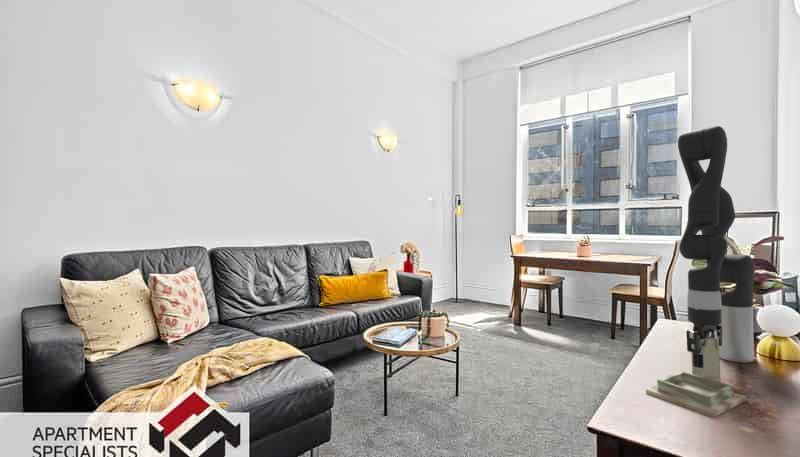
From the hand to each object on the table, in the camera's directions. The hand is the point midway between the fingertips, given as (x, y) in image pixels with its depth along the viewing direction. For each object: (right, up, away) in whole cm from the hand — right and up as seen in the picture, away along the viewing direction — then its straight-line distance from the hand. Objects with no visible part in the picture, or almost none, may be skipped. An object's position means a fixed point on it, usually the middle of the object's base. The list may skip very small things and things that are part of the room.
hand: (705, 364), depth 110 cm
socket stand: (-10, -5, -10) cm, 15 cm away
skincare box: (0, -5, 0) cm, 5 cm away
